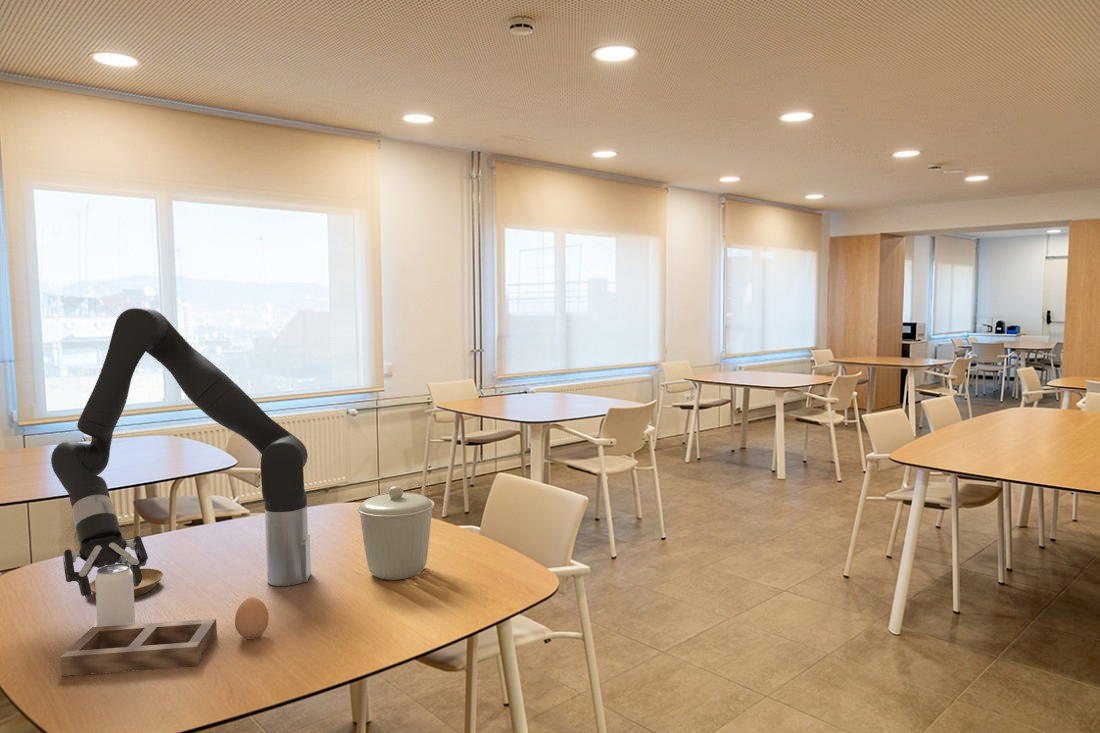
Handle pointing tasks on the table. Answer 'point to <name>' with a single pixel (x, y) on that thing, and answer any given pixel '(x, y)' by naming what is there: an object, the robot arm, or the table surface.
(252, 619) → the egg
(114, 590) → the can
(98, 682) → the table surface
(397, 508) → the canister
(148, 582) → the plant saucer
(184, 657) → the rack
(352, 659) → the table surface
